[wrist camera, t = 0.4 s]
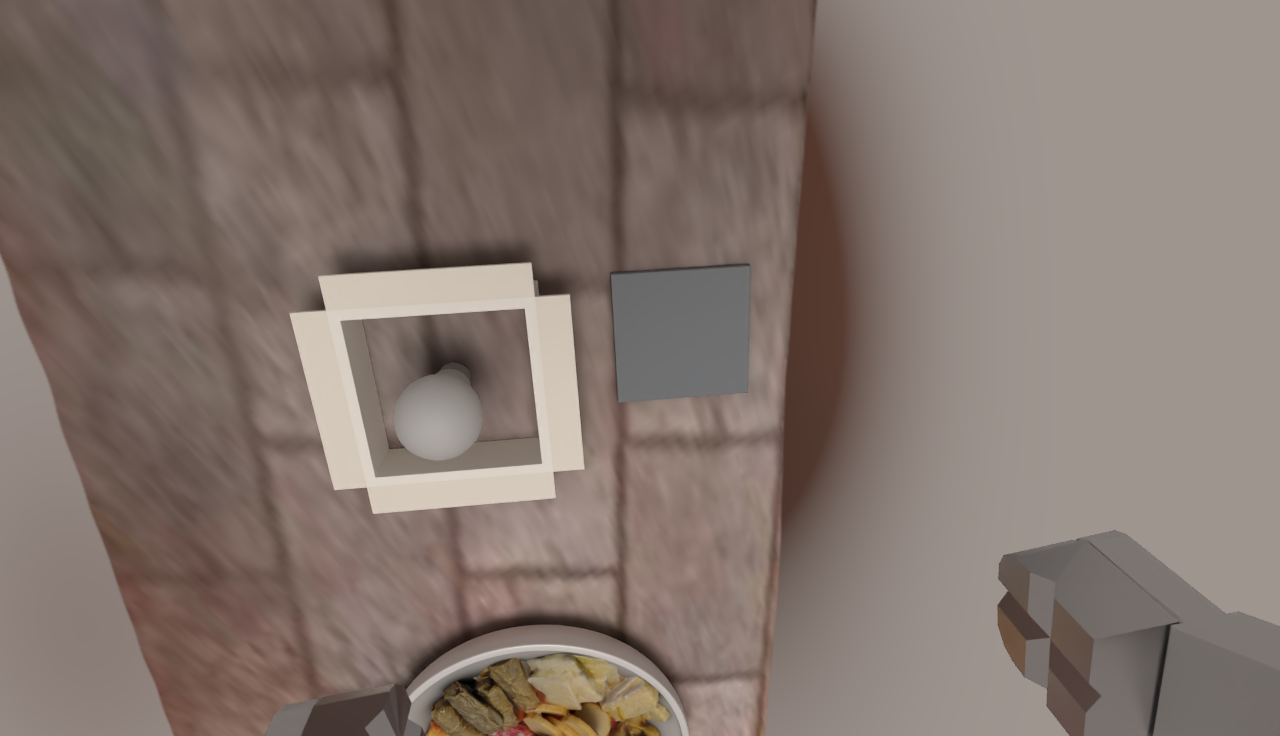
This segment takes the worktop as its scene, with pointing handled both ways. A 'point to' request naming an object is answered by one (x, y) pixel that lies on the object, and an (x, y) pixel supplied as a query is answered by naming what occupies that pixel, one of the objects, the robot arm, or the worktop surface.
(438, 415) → the lightbulb
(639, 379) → the mat
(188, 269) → the worktop surface
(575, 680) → the bowl
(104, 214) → the worktop surface
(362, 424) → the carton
